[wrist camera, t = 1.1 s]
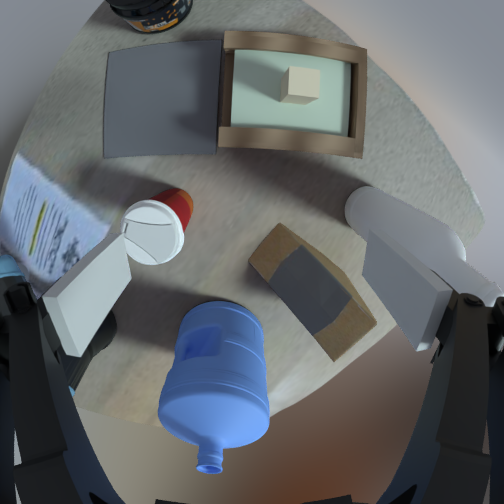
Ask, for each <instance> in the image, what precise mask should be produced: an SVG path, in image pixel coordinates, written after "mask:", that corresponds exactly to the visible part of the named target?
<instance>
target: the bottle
mask: <svg viewBox="0 0 504 504" xmlns="http://www.w3.org/2000/svg"><path fill="white" fill-rule="evenodd" d="M345 218H346V220H347V223H348V224H349V225H350V227H351V228H352V229H353V230H354V231H355V232H356V233H357V234H358V235H360V236H361V237H362V238H363V239H364V240H365V241H366V242H367V241H368V233H369V229H381V230H383V231H384V232H385V233H387V234H388V235H389V236H390V237H392V238H393V239H394V240H396V241H397V242H398V243H399V244H401V245H402V246H403V247H404V248H405V249H407V250H408V251H409V252H410V253H412V254H413V255H414V256H415V257H416V258H417V259H419V260H420V261H421V262H422V263H423V264H425V265H426V266H427V267H428V268H429V269H431V270H433V271H435V272H436V273H437V274H438V275H439V276H440V277H441V278H443V279H444V280H445V282H447V283H448V284H449V285H450V286H451V287H452V288H454V289H455V290H456V291H457V292H458V293H459V294H461V293H469V294H473V295H475V296H477V297H478V298H480V299H481V300H482V301H483V302H484V304H485V306H488V307H493V306H494V304H495V301H496V299H497V297H499V296H503V297H504V292H503V291H501V289H500V286H498V285H497V284H496V283H495V282H491V281H489V280H488V279H487V278H486V277H484V276H483V275H482V274H481V273H479V272H478V271H477V270H475V269H474V268H473V267H472V266H470V265H469V264H467V263H466V254H465V248H464V246H463V244H462V242H461V240H460V238H459V237H458V235H457V234H456V232H455V231H454V230H453V229H452V228H450V227H449V226H448V225H446V224H445V223H443V222H441V221H439V220H437V219H436V218H434V217H432V216H430V215H428V214H427V213H425V212H423V211H421V210H419V209H417V208H415V207H413V206H411V205H409V204H407V203H405V202H404V201H402V200H400V199H397V198H395V197H393V196H391V195H389V194H387V193H385V192H384V191H382V190H380V189H378V188H375V187H370V186H364V187H360V188H358V189H356V190H355V191H354V192H352V193H351V195H350V196H349V198H348V199H347V201H346V205H345Z"/></svg>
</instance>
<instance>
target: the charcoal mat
mask: <svg viewBox="0 0 504 504" xmlns="http://www.w3.org/2000/svg"><path fill="white" fill-rule="evenodd" d="M221 47H222V40H198V41H183V42H172V43H162V44H154V45H147V46H141V47H135V48H129V49H124V50H119V51H114V52H109V59H108V68H107V78H106V91H105V110H104V158H115V157H129V156H145V155H171V154H216V138H217V113H218V94H219V76H220V61H221Z"/></svg>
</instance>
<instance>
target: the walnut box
mask: <svg viewBox="0 0 504 504" xmlns="http://www.w3.org/2000/svg"><path fill="white" fill-rule="evenodd" d="M224 50H225V53H226V54H225V69H224V86H223V105H222V126H221V127H219V140H218V147H238V148H261V149H277V150H290V151H302V152H312V153H321V154H330V155H338V156H346V157H353V158H360V159H362V156H363V145H364V132H365V117H366V96H367V49H365V48H361V47H357V46H353V45H349V44H344V43H340V42H335V41H330V40H324V39H318V38H312V37H306V36H298V35H290V34H281V33H270V32H254V31H225V35H224ZM235 50H258V51H273V52H284V53H293V54H301V55H308V56H315V57H321V58H327V59H333V60H338V61H343V62H347V63H351V79H350V106H349V123H348V137H342V136H336V135H328V134H321V133H312V132H303V131H293V130H281V129H267V128H248V127H231V111H232V91H233V74H234V58H235Z"/></svg>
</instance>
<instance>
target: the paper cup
mask: <svg viewBox="0 0 504 504" xmlns="http://www.w3.org/2000/svg"><path fill="white" fill-rule="evenodd" d="M192 211H193V201H192V199H191V197H190V195H189V194H188V193H187V192H185V191H184V190H182V189H177V188H173V189H169V190H167V191H164V192H162V193H160V194H158V195H156V196H154V197H152V198H150V199H148V200H143V201H139V202H136V203H135V204H133V205H131V206H130V207H129V208H128V209H127V210H126V212H125V213H124V215H123V217H122V220H121V225H120V233H123V235H124V241H125V247H126V252H127V253H128V255H129V256H130V257H132V258H133V259H134V260H136V261H138V262H140V263H142V264H147V265H157V264H161V263H165V262H167V261H169V260H171V259H172V258H173V257H174V256H175V255H176V254H177V253H178V252H180V251H181V248H182V246H183V243H184V231H185V229H186V227H187V224H188V222H189V220H190V217H191V215H192Z"/></svg>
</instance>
